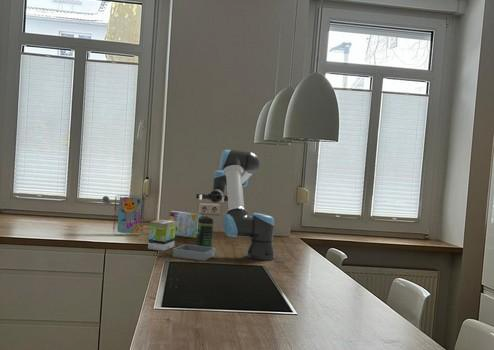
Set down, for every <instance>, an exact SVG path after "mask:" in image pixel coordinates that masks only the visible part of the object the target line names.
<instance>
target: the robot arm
mask: <svg viewBox="0 0 494 350" xmlns="http://www.w3.org/2000/svg"><path fill="white" fill-rule="evenodd" d="M260 168H261V160H260V158H259V156H258V155H257V154H255V153H254V152H252V151H249V150H233V149H224V150H223V151H222V152H221V156H220V161H219V170H215V171H214V173H213V187H212V190H211V192H210V193H197V194H196V193H195V194H196V199H198V201H201V200H209V201H211V202H212V203H219V202H221V203H224V202H227V205H228V206H227V207H228V208H227V209H228V210H227V211H226V212H225V214H224V216H223V218H222V222H223V223H222V225H223V231H224V233H225V235H226V236H227V237H233V238H250V243H249V246H248V249H247V250H246V257H247V258H249V259H253V260H257V261H259V260H260V261H273V260H275V257H276V252H275V250H274V245H273V240H274V230H275V219H274V217H273V216H271V215H267V214H263V213H259V212H253V213H252V215H248V214H249V213H248V210H247V209H245V202H244V201H245V200H244V191H243V189H244V188H245V187H247V186H248V184H249V178H250V177H252V175H254V174H255V173H257V172H259V170H260ZM243 187H244V188H243ZM225 188H226V190H227V194H225Z"/></svg>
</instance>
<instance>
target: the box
mask: <svg viewBox="0 0 494 350" xmlns="http://www.w3.org/2000/svg"><path fill="white" fill-rule="evenodd" d="M114 199H115V200H114V214H113V215H114V216H113V225H112V226H113V227H112V230H113V235H115V236H116V237H117V236H118V234H117V233H120V236H123V234H128V236H134V237H137V236H138V237H139V235H142V234H143V232H144V231H143V230H144V229H141V228H143V226H144V220H145V219H144V211H145V205H146V204H145V203H146V202H145V196H142V195H138V197H137V196H135V195H134V194H133V195H132V194H131V195H129V194H126V195H125V194H117V196H115V198H114ZM117 199H118V200H117ZM102 203H103V204H105V205H109V204H110V205H112V204H113V202H111V201H110V197H108V196H107V195H104V196H103V197H102ZM117 208H118V209H117ZM116 212H117V214H116ZM116 219H117V222H116ZM115 228H116V231H117V233H116V231H115ZM140 229H141V232H140ZM115 233H116V234H115ZM122 233H123V234H122ZM135 233H140V234H135Z"/></svg>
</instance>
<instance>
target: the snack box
mask: <svg viewBox="0 0 494 350" xmlns="http://www.w3.org/2000/svg"><path fill="white" fill-rule="evenodd" d="M201 216H202V214H200V213H193V212H187V211H186V212H185V211H177V210H171V211H169V216H168V220H169V221H176V230H175V236H178V237H179V236H180V237H185V238H186V237H187V238H191V239H197V233H198V219H199V217H201Z"/></svg>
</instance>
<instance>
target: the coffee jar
mask: <svg viewBox="0 0 494 350" xmlns="http://www.w3.org/2000/svg"><path fill="white" fill-rule="evenodd" d="M213 228H214V219H213V218H211V217H209V216H206V215H205V216H204V215H203V216H202V215H201V217H199V219H198V233H197V238H196V245H198V246H206V247H212V246H213V245H212V243H213V230H214V229H213Z"/></svg>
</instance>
